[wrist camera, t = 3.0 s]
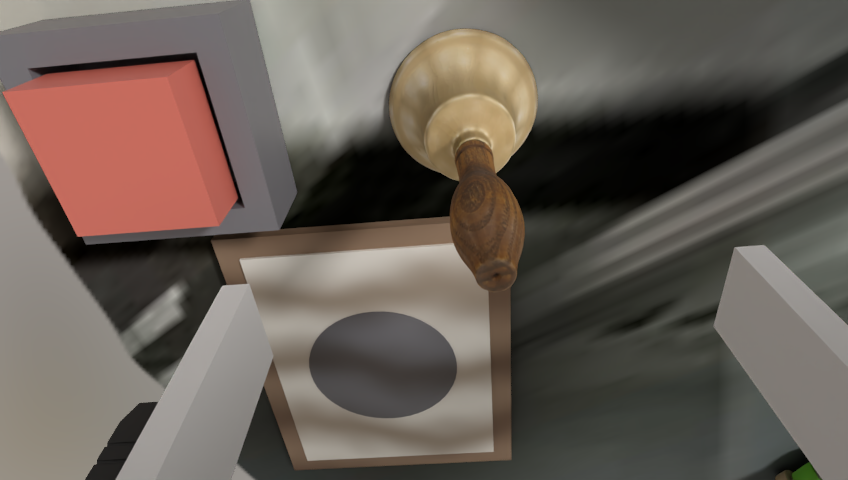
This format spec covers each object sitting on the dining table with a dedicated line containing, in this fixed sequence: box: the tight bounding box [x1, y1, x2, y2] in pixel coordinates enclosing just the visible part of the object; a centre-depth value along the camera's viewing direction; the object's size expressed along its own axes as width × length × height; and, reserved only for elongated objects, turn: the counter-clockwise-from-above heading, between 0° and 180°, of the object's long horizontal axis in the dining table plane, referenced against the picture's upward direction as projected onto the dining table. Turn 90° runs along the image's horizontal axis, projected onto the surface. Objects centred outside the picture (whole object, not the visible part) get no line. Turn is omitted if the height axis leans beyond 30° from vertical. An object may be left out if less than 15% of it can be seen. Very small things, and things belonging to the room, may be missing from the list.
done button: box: [2, 60, 238, 237], centre depth 25 cm, size 7×7×3 cm
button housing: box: [0, 0, 297, 245], centre depth 28 cm, size 11×11×4 cm
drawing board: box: [211, 217, 511, 470], centre depth 39 cm, size 24×19×1 cm
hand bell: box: [389, 29, 538, 292], centre depth 22 cm, size 8×8×16 cm
